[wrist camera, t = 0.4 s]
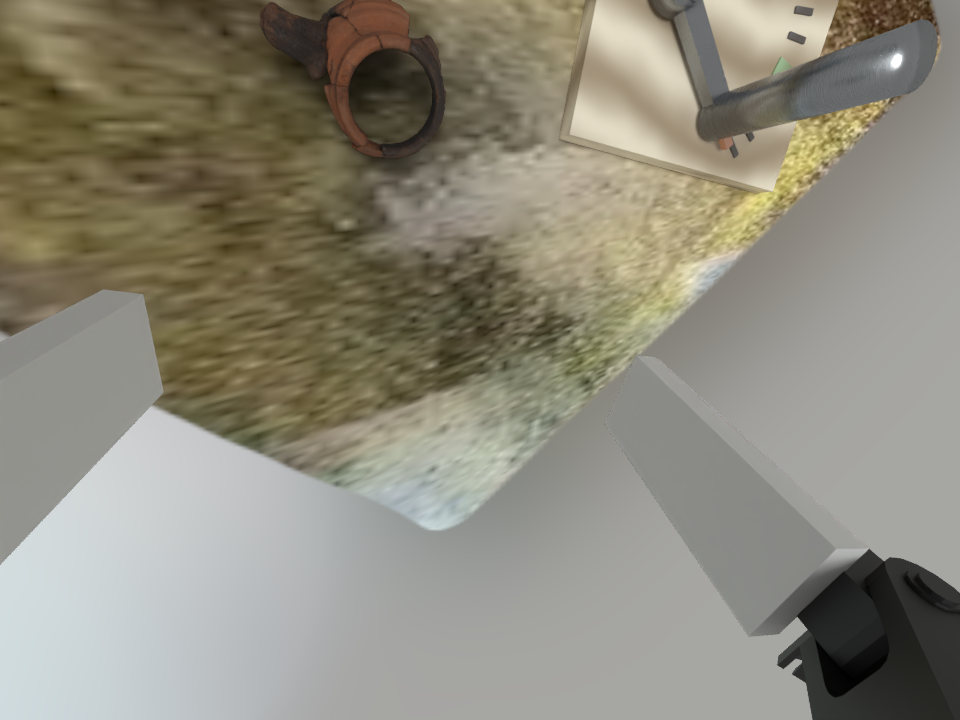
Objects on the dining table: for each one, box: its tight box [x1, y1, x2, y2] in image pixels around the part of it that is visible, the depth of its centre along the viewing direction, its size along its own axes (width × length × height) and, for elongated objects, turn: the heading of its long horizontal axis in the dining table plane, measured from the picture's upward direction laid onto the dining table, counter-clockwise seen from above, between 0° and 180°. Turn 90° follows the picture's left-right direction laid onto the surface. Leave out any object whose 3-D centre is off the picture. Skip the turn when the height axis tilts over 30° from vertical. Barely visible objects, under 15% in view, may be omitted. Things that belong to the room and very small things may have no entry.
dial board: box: [559, 0, 839, 193], centre depth 34 cm, size 20×24×2 cm
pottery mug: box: [260, 0, 446, 158], centre depth 27 cm, size 12×10×8 cm
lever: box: [652, 0, 937, 150], centre depth 27 cm, size 16×4×14 cm, turn 35°
